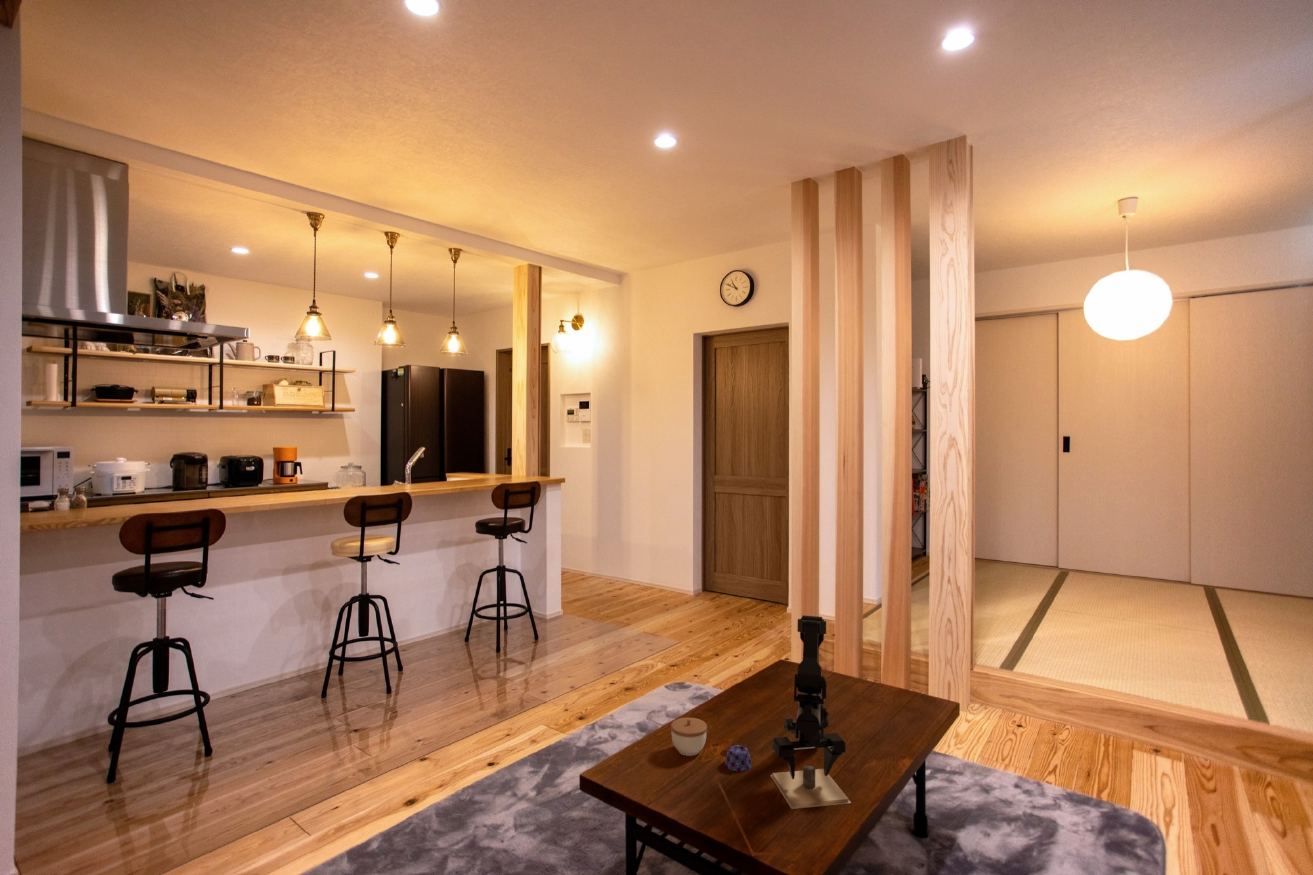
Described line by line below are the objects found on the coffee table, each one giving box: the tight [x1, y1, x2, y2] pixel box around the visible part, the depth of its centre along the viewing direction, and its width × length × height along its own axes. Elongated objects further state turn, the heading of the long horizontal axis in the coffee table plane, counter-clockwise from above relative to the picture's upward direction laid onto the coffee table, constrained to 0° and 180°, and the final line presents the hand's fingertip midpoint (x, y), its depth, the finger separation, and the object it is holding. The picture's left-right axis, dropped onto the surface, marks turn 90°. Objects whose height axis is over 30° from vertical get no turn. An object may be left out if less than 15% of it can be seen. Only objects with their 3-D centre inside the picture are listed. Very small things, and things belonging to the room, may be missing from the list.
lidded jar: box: [670, 717, 708, 757], centre depth 191 cm, size 11×11×9 cm
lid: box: [771, 765, 850, 807], centre depth 169 cm, size 15×15×5 cm
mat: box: [770, 774, 852, 810], centre depth 169 cm, size 16×16×1 cm
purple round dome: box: [724, 744, 753, 773], centre depth 182 cm, size 12×12×5 cm
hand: (809, 776), depth 169 cm, fingers open, 9 cm apart
